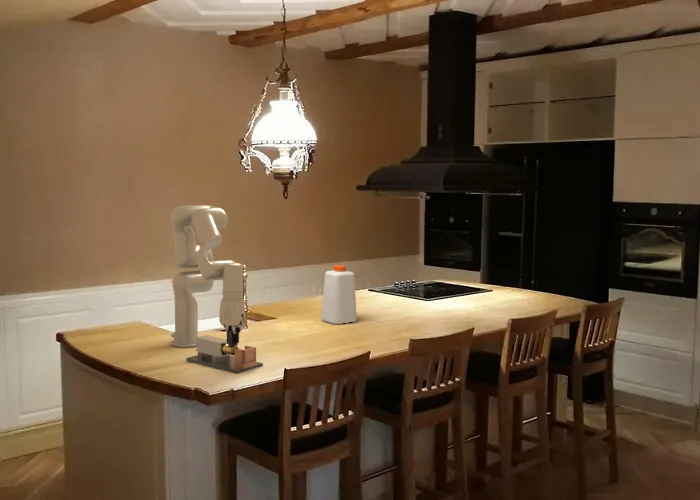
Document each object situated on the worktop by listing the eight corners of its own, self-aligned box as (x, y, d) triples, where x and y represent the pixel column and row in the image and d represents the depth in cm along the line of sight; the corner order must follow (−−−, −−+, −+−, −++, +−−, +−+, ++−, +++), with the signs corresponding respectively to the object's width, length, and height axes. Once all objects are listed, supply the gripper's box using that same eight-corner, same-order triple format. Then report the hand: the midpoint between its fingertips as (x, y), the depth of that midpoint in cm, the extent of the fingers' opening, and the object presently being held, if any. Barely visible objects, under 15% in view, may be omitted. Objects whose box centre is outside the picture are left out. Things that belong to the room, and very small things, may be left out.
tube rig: (186, 360, 288) (186, 338, 287) (213, 354, 300) (213, 333, 299) (236, 373, 272) (236, 350, 271) (262, 366, 283) (263, 343, 282)
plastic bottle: (359, 322, 367) (360, 266, 364) (334, 325, 359) (335, 268, 355) (343, 317, 379) (343, 263, 376) (318, 320, 371) (318, 265, 368)
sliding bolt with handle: (202, 349, 290) (201, 325, 289) (208, 347, 293) (208, 324, 292) (232, 356, 280) (232, 331, 279) (239, 354, 283) (239, 330, 282)
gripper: (211, 294, 281) (211, 341, 284) (240, 299, 272) (240, 347, 274) (225, 291, 287) (225, 337, 289) (254, 296, 278) (254, 344, 280)
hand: (232, 342), depth 282 cm, fingers closed on sliding bolt with handle, 2 cm apart
